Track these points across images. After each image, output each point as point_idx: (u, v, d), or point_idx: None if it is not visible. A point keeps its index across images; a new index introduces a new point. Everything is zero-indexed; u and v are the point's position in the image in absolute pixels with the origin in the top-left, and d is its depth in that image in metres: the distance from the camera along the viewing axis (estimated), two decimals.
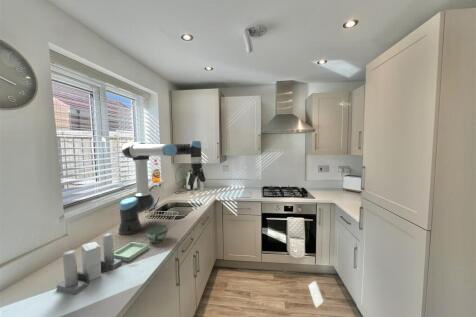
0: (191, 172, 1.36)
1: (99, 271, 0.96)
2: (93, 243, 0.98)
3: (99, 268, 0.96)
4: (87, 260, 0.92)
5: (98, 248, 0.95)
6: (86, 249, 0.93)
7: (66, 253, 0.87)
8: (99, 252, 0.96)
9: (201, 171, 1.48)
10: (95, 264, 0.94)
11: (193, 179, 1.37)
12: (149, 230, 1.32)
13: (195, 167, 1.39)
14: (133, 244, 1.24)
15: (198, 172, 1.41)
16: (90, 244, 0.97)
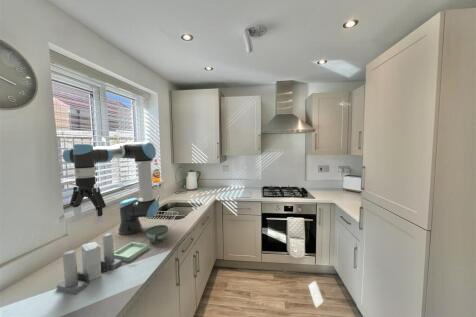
0: None
1: (99, 271, 0.96)
2: (93, 243, 0.98)
3: (99, 268, 0.96)
4: (87, 260, 0.92)
5: (98, 248, 0.95)
6: (86, 249, 0.93)
7: (66, 253, 0.87)
8: (99, 252, 0.96)
9: None
10: (95, 264, 0.94)
11: None
12: (149, 230, 1.32)
13: None
14: (133, 244, 1.24)
15: (80, 191, 0.93)
16: (90, 244, 0.97)
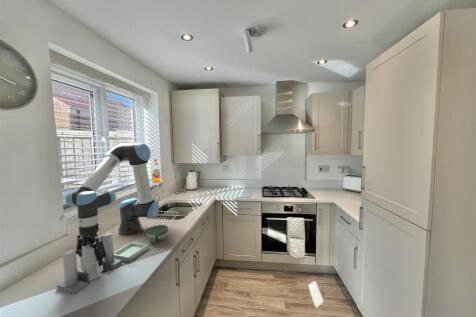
0: None
1: None
2: None
3: None
4: (87, 260, 0.92)
5: None
6: (86, 249, 0.93)
7: (66, 253, 0.87)
8: None
9: None
10: (95, 264, 0.94)
11: (81, 247, 0.97)
12: (149, 230, 1.32)
13: None
14: (133, 244, 1.24)
15: (84, 239, 0.94)
16: None
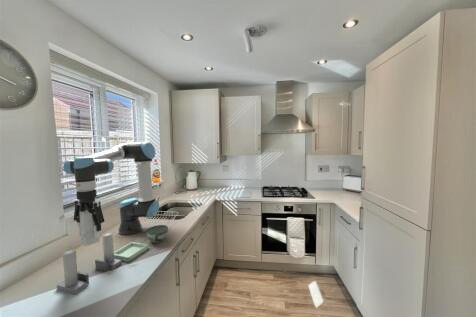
0: None
1: None
2: None
3: None
4: (85, 224, 0.91)
5: None
6: (83, 214, 0.92)
7: (66, 253, 0.87)
8: None
9: None
10: (93, 229, 0.93)
11: (79, 213, 0.96)
12: (149, 230, 1.32)
13: None
14: (133, 244, 1.24)
15: (81, 204, 0.93)
16: None
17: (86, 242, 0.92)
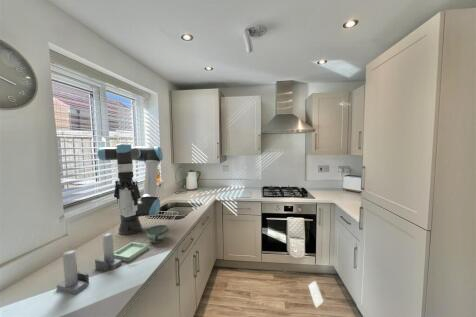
0: None
1: None
2: None
3: None
4: (125, 199, 1.10)
5: (133, 191, 1.13)
6: (124, 190, 1.11)
7: (66, 253, 0.87)
8: None
9: None
10: (131, 203, 1.12)
11: (119, 191, 1.15)
12: (149, 230, 1.32)
13: None
14: (133, 244, 1.24)
15: (122, 183, 1.12)
16: (126, 188, 1.15)
17: (126, 214, 1.11)
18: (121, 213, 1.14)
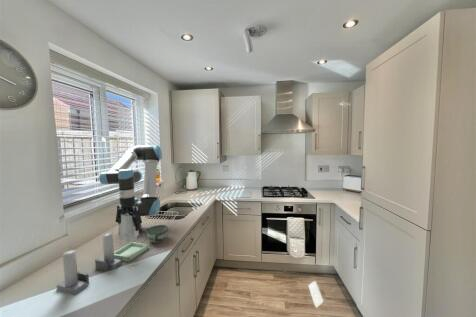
0: None
1: None
2: None
3: None
4: (127, 225, 1.11)
5: None
6: (125, 216, 1.12)
7: (66, 253, 0.87)
8: None
9: None
10: (132, 229, 1.13)
11: (120, 216, 1.16)
12: (149, 230, 1.32)
13: None
14: (133, 244, 1.24)
15: (123, 209, 1.13)
16: (127, 213, 1.16)
17: (127, 240, 1.11)
18: (122, 238, 1.15)
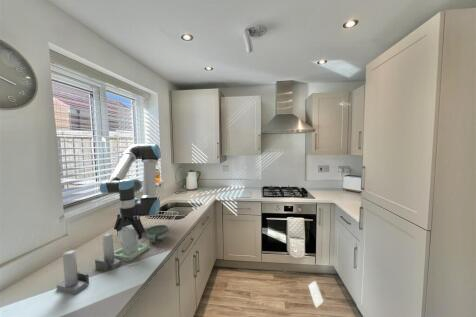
0: None
1: (137, 248, 1.15)
2: (131, 226, 1.17)
3: (137, 246, 1.15)
4: (129, 239, 1.11)
5: None
6: (127, 230, 1.12)
7: (66, 253, 0.87)
8: None
9: None
10: (134, 242, 1.14)
11: (120, 224, 1.17)
12: (149, 230, 1.32)
13: None
14: None
15: (124, 219, 1.14)
16: (129, 226, 1.16)
17: (129, 253, 1.12)
18: (124, 251, 1.15)
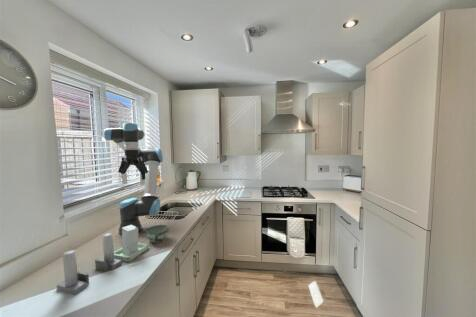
0: None
1: (137, 248, 1.15)
2: (131, 226, 1.17)
3: (137, 246, 1.15)
4: (129, 239, 1.11)
5: (136, 229, 1.14)
6: (127, 230, 1.12)
7: (66, 253, 0.87)
8: (137, 232, 1.15)
9: (139, 161, 1.18)
10: (134, 242, 1.14)
11: (124, 167, 1.22)
12: (149, 230, 1.32)
13: None
14: None
15: (128, 160, 1.19)
16: (129, 226, 1.16)
17: (129, 253, 1.12)
18: (124, 251, 1.15)
